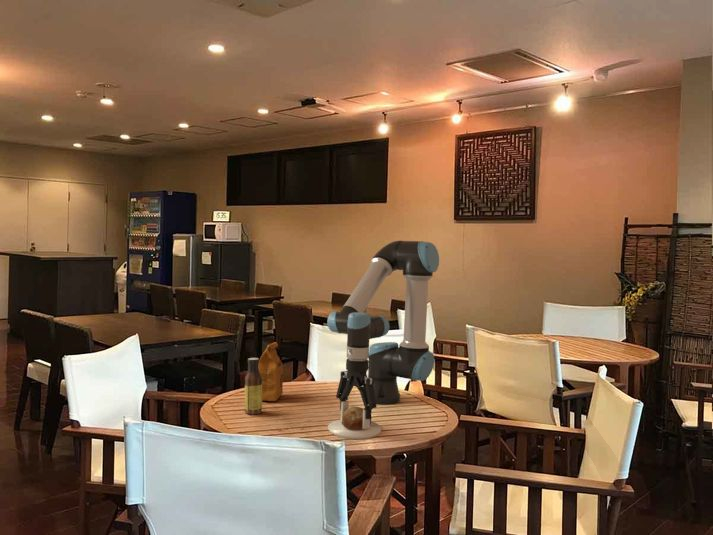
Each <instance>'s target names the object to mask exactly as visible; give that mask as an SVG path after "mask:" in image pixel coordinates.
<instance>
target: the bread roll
mask: <svg viewBox="0 0 713 535" xmlns="http://www.w3.org/2000/svg"><path fill="white" fill-rule="evenodd" d="M363 409H364V408H363V407H359V406H354V405H352V406H351V407H350V406H349V407H348V409H347V410H346V411H345V412H344V413H343V417H342V422H341V423H342V425H343V426H344V427H345V428H348V429H362V424H363ZM372 419H373V417H372V416H371V419H370V424H371V421H372Z"/></svg>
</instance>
